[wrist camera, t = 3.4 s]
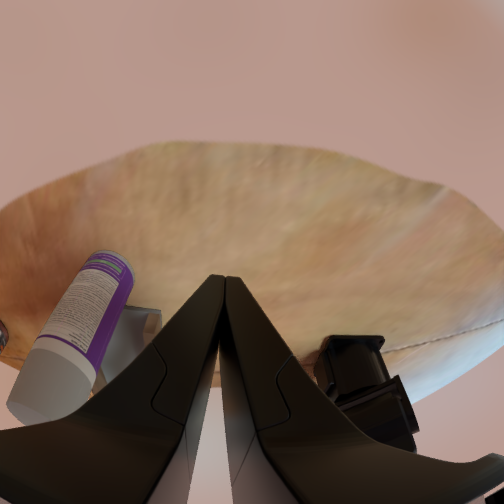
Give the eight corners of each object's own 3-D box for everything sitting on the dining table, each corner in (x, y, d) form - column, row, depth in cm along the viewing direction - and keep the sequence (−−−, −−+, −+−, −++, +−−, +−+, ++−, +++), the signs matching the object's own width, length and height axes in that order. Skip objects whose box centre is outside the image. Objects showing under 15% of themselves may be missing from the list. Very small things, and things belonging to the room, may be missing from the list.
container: (127, 301, 26) (74, 451, 13) (83, 280, 24) (10, 418, 12) (141, 264, 24) (76, 430, 11) (92, 241, 22) (-2, 388, 10)
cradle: (160, 310, 26) (153, 333, 24) (169, 400, 34) (166, 419, 32) (74, 296, 25) (62, 317, 23) (105, 388, 33) (99, 406, 31)
